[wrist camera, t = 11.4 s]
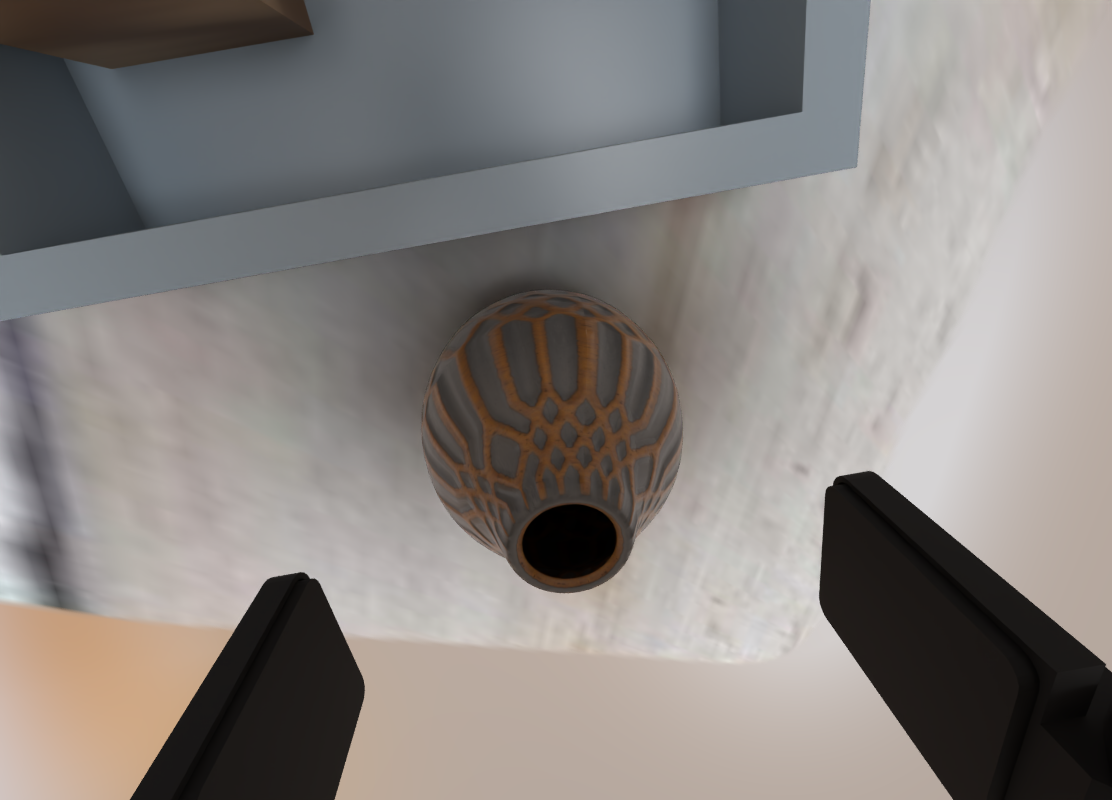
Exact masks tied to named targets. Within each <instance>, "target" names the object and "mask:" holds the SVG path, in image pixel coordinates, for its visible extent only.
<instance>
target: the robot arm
mask: <svg viewBox="0 0 1112 800" xmlns="http://www.w3.org/2000/svg"><path fill="white" fill-rule="evenodd" d="M819 600H820V605H821V608H822V611H823V613H824V615H825V617H826V618H827V620H828V621H829V623H830V624H831V625H832V627H833V628H834V629H835V631H836V633H837V634H838V636H839V637H840V638H841V640H842V641H843V643H844V644H845V645H846V647H847V648H848V650H849V651H850V653H851V654H852V655H853V657H854V658H855V660H856V661H857V663H858V664H859V666H860V667H861V668H862V670H863V671H864V673H865V674H866V676H867V677H868V678H869V680H870V681H871V683H872V684H873V686H874V687H875V688H876V690H877V691H878V693H879V694H880V696H881V697H882V698H883V700H884V701H885V703H886V704H887V706H888V707H889V708H890V710H891V711H892V713H893V714H894V715H895V717H896V718H897V720H898V721H899V723H900V724H901V726H902V727H903V728H904V730H905V731H906V733H907V734H908V736H909V737H910V739H911V740H912V741H913V743H914V744H915V745H916V747H917V748H918V750H919V751H920V753H921V754H922V756H923V757H924V759H925V760H926V761H927V763H928V764H929V766H930V767H931V769H932V770H933V771H934V773H935V774H936V776H937V777H938V778H939V780H940V781H941V783H942V784H943V786H944V787H945V789H946V790H947V791H948V793H949V794H950V796H951V797H952V799H953V800H1112V672H1111V671H1110V670H1108V669H1107V668H1106V667H1105V666H1106V664H1105V663H1104V662H1103V661H1101V660H1100V659H1099V658H1098V657H1097V656H1096V655H1094V654H1093V653H1092V652H1091V651H1090V650H1088V649H1087V648H1086V647H1085V646H1083V645H1082V644H1081V643H1080V642H1079V641H1077V640H1076V639H1075V638H1074V637H1073V636H1072V635H1070V634H1069V633H1068V632H1067V631H1065V630H1064V629H1063V628H1062V627H1061V626H1059V625H1058V624H1057V623H1056V622H1055V621H1053V620H1052V619H1051V618H1050V617H1049V616H1047V615H1046V614H1045V613H1044V612H1043V611H1041V610H1040V609H1039V608H1038V607H1037V606H1035V605H1034V604H1033V603H1032V602H1030V601H1029V600H1028V599H1027V598H1025V597H1024V596H1023V595H1022V594H1021V593H1019V592H1018V591H1017V590H1016V589H1015V588H1014V587H1012V586H1011V585H1010V584H1009V583H1007V582H1006V581H1005V580H1004V579H1003V578H1002V577H1000V576H999V575H998V574H997V573H996V572H994V571H993V570H992V569H991V568H990V567H988V566H987V565H986V564H985V563H983V562H982V561H981V560H980V559H979V558H977V557H976V556H975V555H974V554H973V553H971V552H970V551H969V550H968V549H967V548H965V547H964V546H963V545H961V543H959V542H958V541H957V540H956V539H954V538H953V537H952V536H951V535H950V534H948V533H947V532H946V531H945V530H944V529H942V528H941V527H940V526H939V525H938V524H936V523H935V522H934V521H933V520H932V519H930V518H929V517H928V516H927V515H926V514H924V513H923V512H922V511H921V510H920V509H918V508H917V507H916V506H915V505H914V504H912V503H911V502H910V501H908V499H906V498H905V497H904V496H903V495H901V494H900V493H899V492H898V491H897V490H895V489H894V488H893V487H892V486H891V485H889V484H888V483H887V482H886V481H885V480H883V479H882V478H881V477H880V476H879V475H877V474H876V473H874V472H871V471H866V472H861V473H855V474H849V475H844V476H839V477H837V478H836V479H835V480H834V483H833V486H830V487H828V488H827V489H826V493H825V508H824V524H823V541H822V557H821V574H820V590H819ZM364 691H365V686H364V680H363V677H362V675H361V673H360V670H359V668H358V666H357V664H356V662H355V660H354V657H353V655H352V653H351V651H350V649H349V646H348V644H347V642H346V640H345V638H344V635H343V633H342V631H341V629H340V627H339V625H338V622H337V620H336V618H335V616H334V614H333V612H332V609H331V607H330V605H329V603H328V601H327V598H326V596H325V594H324V592H323V590H322V588H321V585H320V583H319V582H318V581H317V580H316V579H310V578H309V576H308V575H307V574H305V573H302V572H300V573H294V574H289V575H283V576H277V577H272V578H270V579H268V580H267V581H266V582H265V583H264V584H263V586H262V587H261V589H260V591H259V592H258V594H257V595H256V597H255V599H254V600H253V602H252V604H251V605H250V607H249V608H248V610H247V612H246V613H245V615H244V616H243V618H242V620H241V621H240V623H239V624H238V626H237V628H236V629H235V631H234V633H233V634H232V636H231V638H230V639H229V641H228V642H227V644H226V646H225V647H224V649H223V650H222V652H221V654H220V655H219V657H218V658H217V660H216V662H215V663H214V665H213V667H212V668H211V670H210V671H209V673H208V675H207V676H206V678H205V679H204V681H203V683H202V684H201V686H200V687H199V689H198V691H197V692H196V694H195V696H194V697H193V699H192V700H191V702H190V704H189V705H188V707H187V708H186V710H185V712H184V713H183V715H182V717H181V718H180V720H179V721H178V723H177V725H176V726H175V728H174V729H173V731H172V733H171V734H170V736H169V737H168V739H167V741H166V742H165V744H164V746H163V747H162V749H161V750H160V752H159V754H158V755H157V757H156V759H155V760H154V762H153V763H152V765H151V767H150V768H149V770H148V771H147V773H146V775H145V776H144V778H143V779H142V781H141V783H140V784H139V786H138V788H137V789H136V791H135V792H134V794H133V796H132V797H131V799H130V800H334V799H335V796H336V792H337V789H338V786H339V782H340V779H341V775H342V772H343V769H344V765H345V762H346V758H347V755H348V751H349V748H350V744H351V741H352V738H353V734H354V731H355V728H356V724H357V721H358V717H359V713H360V710H361V707H362V703H363V700H364Z"/></svg>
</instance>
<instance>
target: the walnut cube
mask: <svg viewBox="0 0 1112 800" xmlns="http://www.w3.org/2000/svg"><path fill="white" fill-rule="evenodd" d="M309 35H314V33H313V29H312V26H311V22H310V19H309V16H308V12H307V9H306V6H305V2H304V0H0V44H3V45H7V46H12V47H16V48H21V49H25V50H29V51H34V52H38V53H43V54H47V55H51V56H56V57H60V58H65V59H69V60H73V61H78V62H82V63H87V64H91V65H95V66H100V67H104V68H109V69H116V68H122V67H128V66H133V65H139V64H145V63H151V62H157V61H163V60H169V59H174V58H180V57H186V56H192V55H198V54H204V53H209V52H215V51H221V50H227V49H233V48H239V47H244V46H250V45H256V44H262V43H268V42H274V41H279V40H285V39H291V38H297V37H303V36H309Z"/></svg>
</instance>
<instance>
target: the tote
mask: <svg viewBox="0 0 1112 800" xmlns="http://www.w3.org/2000/svg"><path fill="white" fill-rule="evenodd" d="M304 2H305V6H306V9H307V12H308V16H309V19H310V22H311V26H312V29H313V33H314V35H309V36H303V37H297V38H291V39H285V40H279V41H274V42H268V43H262V44H256V45H250V46H244V47H239V48H233V49H227V50H221V51H215V52H209V53H204V54H198V55H192V56H186V57H180V58H174V59H169V60H163V61H157V62H151V63H145V64H139V65H133V66H128V67H122V68H116V69H109V68H104V67H100V66H95V65H91V64H87V63H82V62H78V61H73V60H69V59H65V58H60V57H56V56H51V55H47V54H43V53H38V52H34V51H29V50H25V49H21V48H16V47H12V46H7V45H3V44H0V321H4V320H9V319H15V318H21V317H26V316H32V315H37V314H43V313H48V312H54V311H59V310H65V309H71V308H76V307H82V306H87V305H93V304H98V303H104V302H110V301H115V300H121V299H126V298H132V297H137V296H143V295H149V294H154V293H160V292H165V291H171V290H176V289H182V288H187V287H193V286H199V285H204V284H210V283H215V282H221V281H226V280H232V279H238V278H243V277H249V276H254V275H260V274H265V273H271V272H277V271H282V270H288V269H293V268H299V267H304V266H310V265H315V264H321V263H327V262H332V261H338V260H343V259H349V258H354V257H360V256H366V255H371V254H377V253H382V252H388V251H393V250H399V249H404V248H410V247H416V246H421V245H427V244H432V243H438V242H443V241H449V240H455V239H460V238H466V237H471V236H477V235H482V234H488V233H494V232H499V231H505V230H510V229H516V228H521V227H527V226H532V225H538V224H544V223H549V222H555V221H560V220H566V219H571V218H577V217H583V216H588V215H594V214H599V213H605V212H610V211H616V210H622V209H627V208H633V207H638V206H644V205H649V204H655V203H660V202H666V201H672V200H677V199H683V198H688V197H694V196H699V195H705V194H711V193H716V192H722V191H727V190H733V189H738V188H744V187H749V186H755V185H761V184H766V183H772V182H777V181H783V180H788V179H794V178H800V177H805V176H811V175H816V174H822V173H827V172H833V171H839V170H844V169H850V168H855V167H857V158H858V146H859V134H860V122H861V110H862V98H863V86H864V74H865V62H866V50H867V38H868V26H869V14H870V2H871V0H304Z"/></svg>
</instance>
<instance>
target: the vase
mask: <svg viewBox="0 0 1112 800" xmlns="http://www.w3.org/2000/svg"><path fill="white" fill-rule="evenodd" d="M421 432H422V443H423V450H424V456H425V460H426V464H427V468H428V472H429V475H430V477H431V480H432V483H433V485H434V488H435V490H436V492H437V494H438V496H439V498H440V500H441V502H442V503H443V505H444V506H445V508H446V509H447V511H448V512H449V514H450V515H451V517H452V518H453V519H454V520H455V522H456V523H457V524H458V525H459V526H460V527H461V528H462V529H463V530H464V531H465V532H466V533H467V534H469V535H470V536H471V537H472V538H473V539H475V540H476V541H477V542H479V543H480V544H482V545H483V546H485V547H486V548H488V549H489V550H491V551H493V552H495V553H496V554H498V555H500V556H502V557H504V558H506V559H507V561H508V563H509V564H510V566H511V567H512V568H513V570H514V571H515V572H516V573H517V574H518V575H519V576H520V577H521V578H522V579H523V580H524V581H526V582H527V583H529V584H531V585H532V586H534V587H537V588H539V589H542V590H545V591H549V592H555V593H575V592H581V591H585V590H589V589H592V588H594V587H597V586H599V585H601V584H603V583H604V582H606V581H608V580H609V579H611V578H612V577H613V576H614V575H615V574H616V573H618V572H619V570H620V569H621V568H622V567H623V566H624V564H625V563H626V561H627V560H628V558H629V556H630V553H631V551H632V548H633V545H634V541H635V538H636V537H637V536H638V535H639V534H640V533H641V532H642V531H643V530H644V529H645V528H646V527H647V526H648V525H649V523H650V522H651V521H652V520H653V519H654V517H655V516H656V515H657V514H658V512H659V511H660V509H661V508H662V506H663V504H664V503H665V501H666V499H667V497H668V495H669V494H670V491H671V489H672V487H673V485H674V482H675V479H676V476H677V472H678V468H679V465H680V460H681V453H682V442H683V422H682V412H681V406H680V400H679V395H678V392H677V388H676V385H675V382H674V379H673V377H672V374H671V372H670V370H669V368H668V365H667V364H666V362H665V360H664V358H663V357H662V355H661V354H660V352H659V350H658V349H657V348H656V346H655V345H654V343H653V342H652V341H651V340H650V339H649V337H648V336H647V335H646V334H645V333H644V332H643V331H642V330H641V329H640V328H639V327H638V326H637V325H636V324H635V323H634V322H633V321H632V320H630V319H629V318H628V317H627V316H625V315H624V314H623V313H621V312H620V311H619V310H617V309H616V308H614V307H612V306H611V305H609V304H607V303H605V302H603V301H601V300H599V299H596V298H593V297H590V296H587V295H584V294H580V293H576V292H570V291H563V290H536V291H529V292H524V293H520V294H516V295H513V296H510V297H507V298H504V299H502V300H500V301H498V302H496V303H493V304H491V305H490V306H488V307H486V308H484V309H483V310H481V311H480V312H478V313H477V314H475V315H474V316H473V317H472V318H470V319H469V320H468V321H467V322H466V323H465V324H464V325H463V326H462V327H461V328H460V329H459V330H458V331H457V332H456V333H455V335H454V336H453V337H452V339H451V340H450V341H449V343H448V344H447V345H446V347H445V349H444V350H443V352H442V353H441V355H440V357H439V359H438V361H437V363H436V365H435V367H434V369H433V371H432V374H431V376H430V379H429V382H428V385H427V389H426V393H425V397H424V401H423V408H422V425H421Z"/></svg>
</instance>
